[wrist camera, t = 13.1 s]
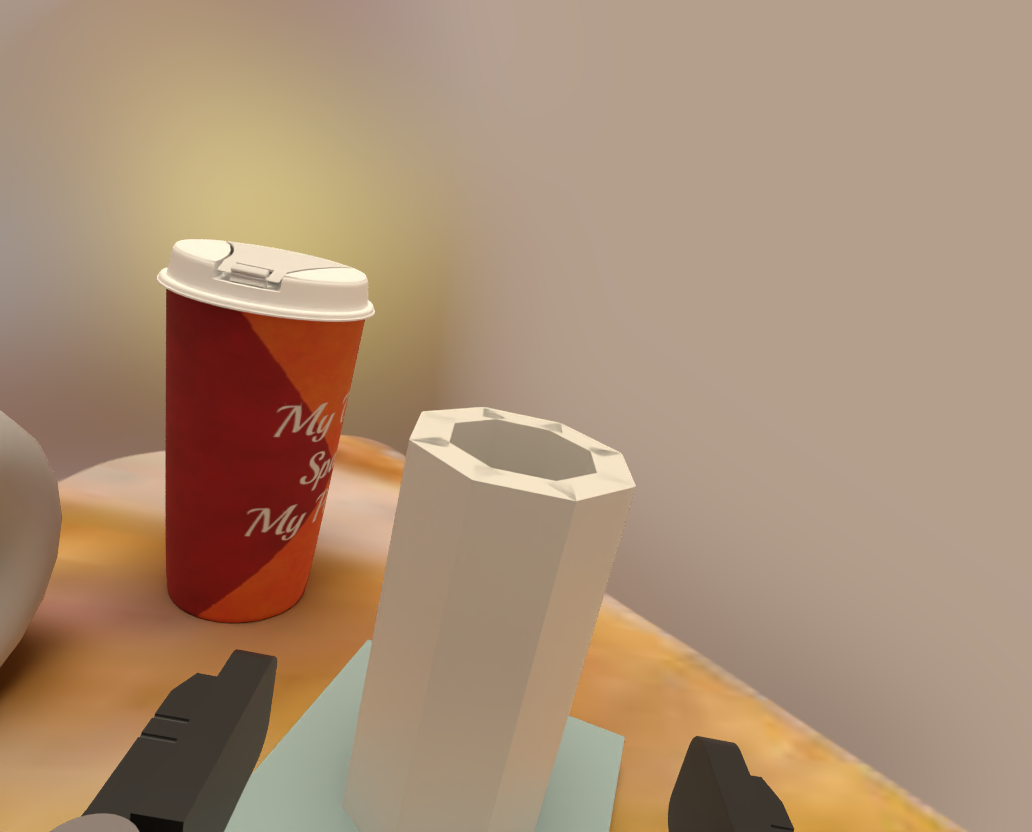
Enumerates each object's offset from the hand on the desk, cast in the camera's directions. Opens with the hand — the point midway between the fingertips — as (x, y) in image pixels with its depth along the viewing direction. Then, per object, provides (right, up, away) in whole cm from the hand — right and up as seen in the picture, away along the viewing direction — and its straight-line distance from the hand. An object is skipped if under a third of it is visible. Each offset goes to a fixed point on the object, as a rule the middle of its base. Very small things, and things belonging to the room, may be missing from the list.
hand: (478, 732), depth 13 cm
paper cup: (-11, -1, +17) cm, 20 cm away
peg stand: (-2, -6, +8) cm, 10 cm away
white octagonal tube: (-2, -5, +7) cm, 9 cm away
